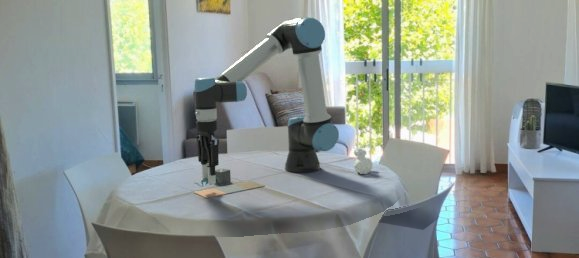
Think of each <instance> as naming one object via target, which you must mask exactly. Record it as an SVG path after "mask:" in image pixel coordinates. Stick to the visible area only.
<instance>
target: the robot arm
mask: <svg viewBox="0 0 579 258" xmlns="http://www.w3.org/2000/svg"><path fill="white" fill-rule="evenodd" d="M325 39H326V31H325V27H324V25H323V24H322V23H321V22H320V21H319V20H318V19H316V18H314V17H308V16H306V17H297V18H290V19H287V20H285V21H283V22H281V23H280V24H279V25H277V26H276V27H275V28H274V29H272V30H271V31H270V32H269V33H267V34H266V36H265V39H264V40H263V41H261V42H260V43H259V44H257V45H256V46H254V47H253V48H252V49H251V50H250V51H248V53H246V54H245V55H244V56H242V57H241V58H240V59H239V60H237V61H235V63H233V64H232V65H231V66H230V67H228V68H227V69H226V70H225V71H223V72H221V73H220V75H218V76H216V77H197V78H195V80H194V98H195V99H194V101H195V113H194V114H195V118H196V120H197V121H196V122H195V124H196V132H198V133H199V135H196V137H195V138H196V142H197V143H196V144H197V156H198V157H197V158H198V162H199V163H200V164H201V173H202V174H201V175H202V176H201V177H202V180H203V179H204V178H208V185H210V184H211V185H214V184H215V185H216V184H217V183H216V175H215V170H216V167H217V166H219V164H220V163H219V143H220V140H219V138H216V136H215V132H216V131H217V130H218V121H217V118H218V112H217V111H218V110H217V109H218V108H217V104H222V103H238V102H244V101H245V100H246V99H247V95H248V89H247V86H246V83H244V82H243V81H245V80H246V79H248V78H249V77H250V76H251V75H253V73H255V72H256V71H258V70H259V69H260V68H261V67H262V66H264V65H265V64H266V63H267V62H269V61H270V60H272V58H273V57H275V56H276V55H281V54H283V53H284V52H285V51H287V50H289V49H291V50H292V55H293V56H295V57H296V58H297V63H298V64H297V65H298V72H299V76H300V85H301V91H302V96H303V104H304V111H305V116H296V117H295V116H294V117H290V118H289V119H288V121H287V132H288V135H287V136H288V137H287V138H288V153H287V157H286V161H285V164H284V165H285V167H284V169H285V171H287V172H291V173H312V172H317V171H319V170H320V169H321V165H320V160H319V157H318V155H317V152H316V151H319V152H328V151H330V150H332V149H334V147H335V146H336V144H337V143H338V141H339V138H340V137H339V128H338V127H337V126H336V125H335V124H333V121H332V115H330V114H329V113H328V111H327V104H326V98H325V92H324V91H325V90H324V84H323V83H324V82H323V77H322V76H323V75H322V69H321V61H320V56H319V55H320V53H321V52H322V49H323V48H322V45H323V43H324V41H325Z"/></svg>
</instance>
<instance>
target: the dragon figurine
mask: <svg viewBox="0 0 579 258" xmlns="http://www.w3.org/2000/svg"><path fill="white" fill-rule="evenodd" d="M200 182H201V185H200V184H199V183H197V182H195V184H196V185H198V186H199V187H203V186H204V183H205V186H206V185H207V184H208V178H204V179H203V178H202V179H201V181H200ZM219 182H220V179H219V178H218V177H217V176H216V183H215V184H217V183H219ZM208 185H210V186H211V185H212V184H208Z"/></svg>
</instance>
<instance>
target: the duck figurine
mask: <svg viewBox="0 0 579 258" xmlns="http://www.w3.org/2000/svg"><path fill="white" fill-rule="evenodd" d="M353 153H354V154H353V155H355V157H357V158H356V160H355V161H354V171H355V172H357V173H359V174H360V175H367V174H369V173H371V172H372V169H373V162H372V159H371V158H370V157H366V155H367V151H366V150H365V148H361V147H360V148H355V149H354V151H353Z"/></svg>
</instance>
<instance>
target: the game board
mask: <svg viewBox="0 0 579 258" xmlns="http://www.w3.org/2000/svg"><path fill="white" fill-rule="evenodd" d="M265 186H266V185H264V184H261V183H258V182H256V181H253V180H248V181H244V182H238V183H233V184H228V185H223V186H216V187H213V188H208V189H203V190H196V191H194V192H193V194H196V195H198V196H200V197H202V198H205V199H210V198H213V197H218V196H223V195H224V196H225V195H229V194H234V193H235V194H236V193H239V192H244V191H249V190H252V189H259V188H263V187H265Z"/></svg>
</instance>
